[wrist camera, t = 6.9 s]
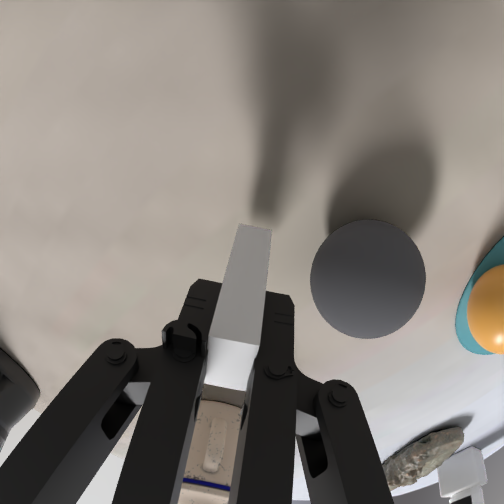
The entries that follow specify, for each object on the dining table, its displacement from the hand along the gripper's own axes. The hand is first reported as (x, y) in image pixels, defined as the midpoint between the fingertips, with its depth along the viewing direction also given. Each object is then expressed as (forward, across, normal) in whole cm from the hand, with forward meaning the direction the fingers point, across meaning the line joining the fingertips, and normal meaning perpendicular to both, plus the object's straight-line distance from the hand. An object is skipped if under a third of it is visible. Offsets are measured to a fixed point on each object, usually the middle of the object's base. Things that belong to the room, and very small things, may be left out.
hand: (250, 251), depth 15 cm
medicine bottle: (+2, +42, -35) cm, 55 cm away
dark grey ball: (-1, +6, 0) cm, 6 cm away
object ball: (-1, +16, 0) cm, 16 cm away
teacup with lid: (+2, 0, -21) cm, 21 cm away
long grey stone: (+3, +29, -38) cm, 48 cm away
